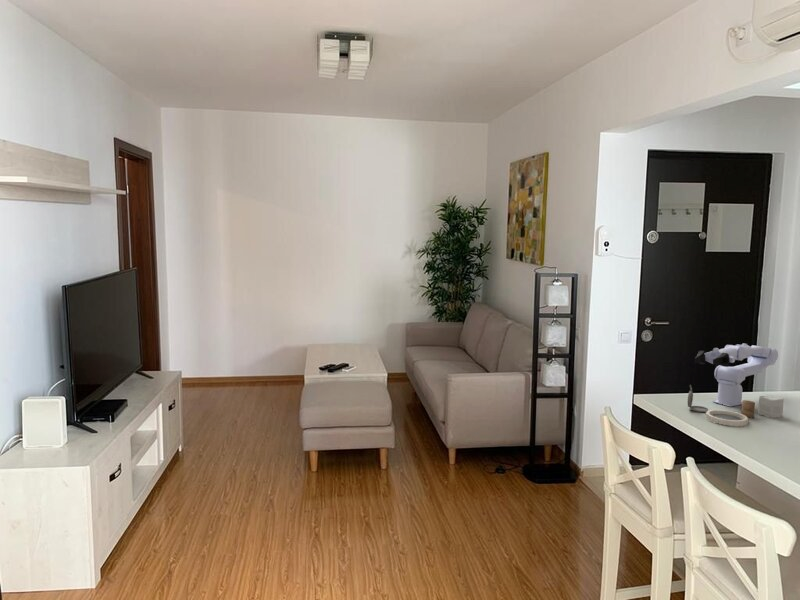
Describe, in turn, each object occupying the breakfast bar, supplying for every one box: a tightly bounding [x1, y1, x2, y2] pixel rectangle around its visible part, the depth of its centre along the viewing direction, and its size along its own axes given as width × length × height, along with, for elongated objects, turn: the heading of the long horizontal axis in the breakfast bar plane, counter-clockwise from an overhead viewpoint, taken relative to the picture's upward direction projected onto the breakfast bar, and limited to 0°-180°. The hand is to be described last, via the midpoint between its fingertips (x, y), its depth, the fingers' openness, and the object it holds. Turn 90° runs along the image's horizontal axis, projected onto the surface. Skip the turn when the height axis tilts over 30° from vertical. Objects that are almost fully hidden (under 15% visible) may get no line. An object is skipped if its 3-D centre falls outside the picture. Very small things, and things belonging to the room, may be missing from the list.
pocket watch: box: [687, 384, 709, 413], centre depth 239 cm, size 8×8×10 cm
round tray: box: [705, 409, 749, 427], centre depth 227 cm, size 14×14×2 cm
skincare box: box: [758, 394, 785, 419], centre depth 233 cm, size 6×6×7 cm
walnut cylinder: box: [740, 399, 756, 419], centre depth 231 cm, size 4×4×6 cm
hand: (704, 361), depth 236 cm, fingers open, 7 cm apart
